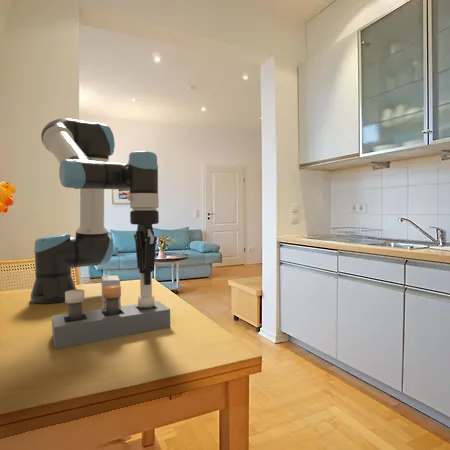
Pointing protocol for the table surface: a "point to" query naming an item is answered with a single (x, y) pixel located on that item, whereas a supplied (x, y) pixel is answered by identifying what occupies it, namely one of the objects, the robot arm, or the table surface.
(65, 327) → the board
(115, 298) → the knob middle
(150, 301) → the knob
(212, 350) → the table surface
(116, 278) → the ink box
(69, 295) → the knob
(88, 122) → the robot arm
